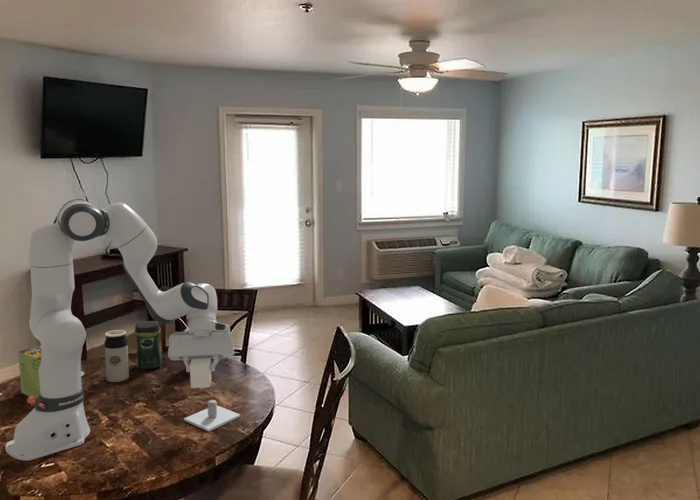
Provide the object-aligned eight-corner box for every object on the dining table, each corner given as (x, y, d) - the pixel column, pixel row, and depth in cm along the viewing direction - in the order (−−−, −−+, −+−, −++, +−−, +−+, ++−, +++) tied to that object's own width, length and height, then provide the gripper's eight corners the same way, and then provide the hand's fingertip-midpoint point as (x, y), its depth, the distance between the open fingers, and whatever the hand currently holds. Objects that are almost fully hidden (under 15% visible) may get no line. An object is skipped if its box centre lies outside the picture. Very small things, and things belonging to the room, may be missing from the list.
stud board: (208, 431, 179) (208, 414, 178) (184, 420, 186) (183, 403, 185) (240, 416, 189) (240, 400, 188) (215, 406, 196) (215, 390, 195)
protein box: (44, 404, 197) (41, 360, 194) (20, 393, 205) (17, 351, 202) (73, 393, 205) (70, 351, 203) (49, 383, 214) (46, 343, 211)
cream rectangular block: (209, 387, 179) (208, 364, 178) (191, 388, 178) (189, 365, 177) (211, 380, 184) (210, 357, 183) (193, 381, 184) (192, 358, 182)
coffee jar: (163, 362, 237) (161, 318, 234) (160, 369, 229) (159, 323, 226) (138, 363, 235) (136, 319, 232) (135, 370, 227) (132, 325, 224)
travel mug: (112, 374, 223) (109, 329, 220) (132, 374, 223) (130, 329, 220) (102, 382, 215) (100, 335, 212) (123, 383, 215) (121, 336, 212)
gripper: (167, 327, 184) (164, 368, 176) (233, 325, 186) (232, 365, 179) (170, 336, 189) (167, 376, 181) (234, 333, 192) (234, 373, 184)
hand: (200, 371), depth 180 cm, fingers closed on cream rectangular block, 6 cm apart
